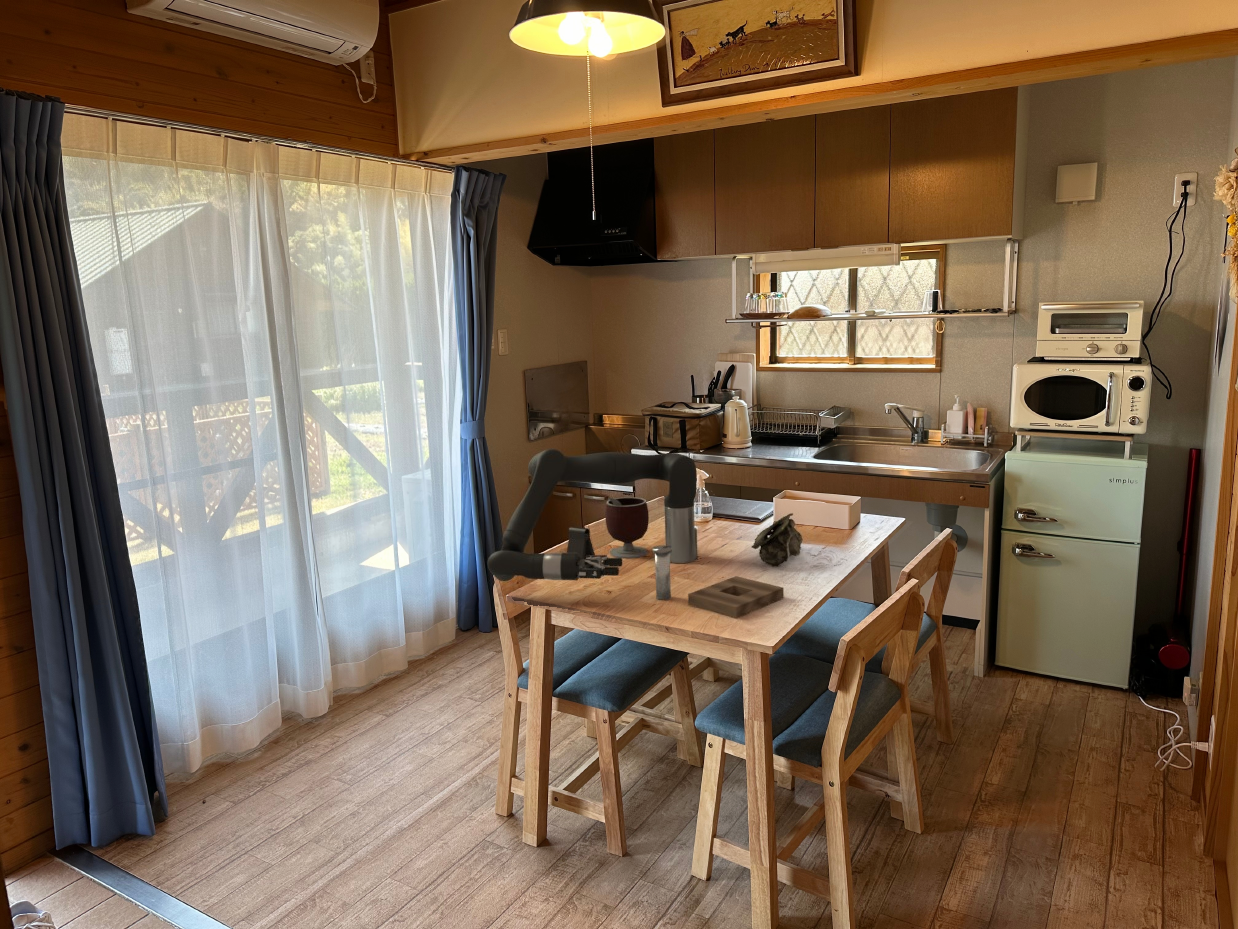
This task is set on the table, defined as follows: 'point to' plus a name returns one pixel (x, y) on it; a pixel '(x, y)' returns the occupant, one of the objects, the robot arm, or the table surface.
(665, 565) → the steel pin
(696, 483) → the robot arm
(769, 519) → the table surface
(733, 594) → the socket plate
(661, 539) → the table surface
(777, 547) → the camouflage backpack
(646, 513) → the mate gourd
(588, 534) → the phone stand
